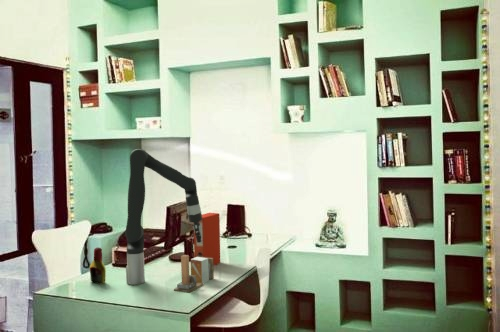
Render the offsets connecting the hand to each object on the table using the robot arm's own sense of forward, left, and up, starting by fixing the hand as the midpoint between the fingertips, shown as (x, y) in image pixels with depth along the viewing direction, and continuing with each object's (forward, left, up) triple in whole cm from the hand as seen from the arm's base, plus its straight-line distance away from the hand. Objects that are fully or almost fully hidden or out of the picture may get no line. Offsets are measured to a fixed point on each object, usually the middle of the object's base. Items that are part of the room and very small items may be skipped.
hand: (199, 240), depth 271 cm
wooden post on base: (+1, -17, -21) cm, 27 cm away
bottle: (-53, -24, -23) cm, 62 cm away
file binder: (-11, +28, -23) cm, 37 cm away
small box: (+1, -3, -23) cm, 23 cm away
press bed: (+2, -9, -22) cm, 24 cm away
